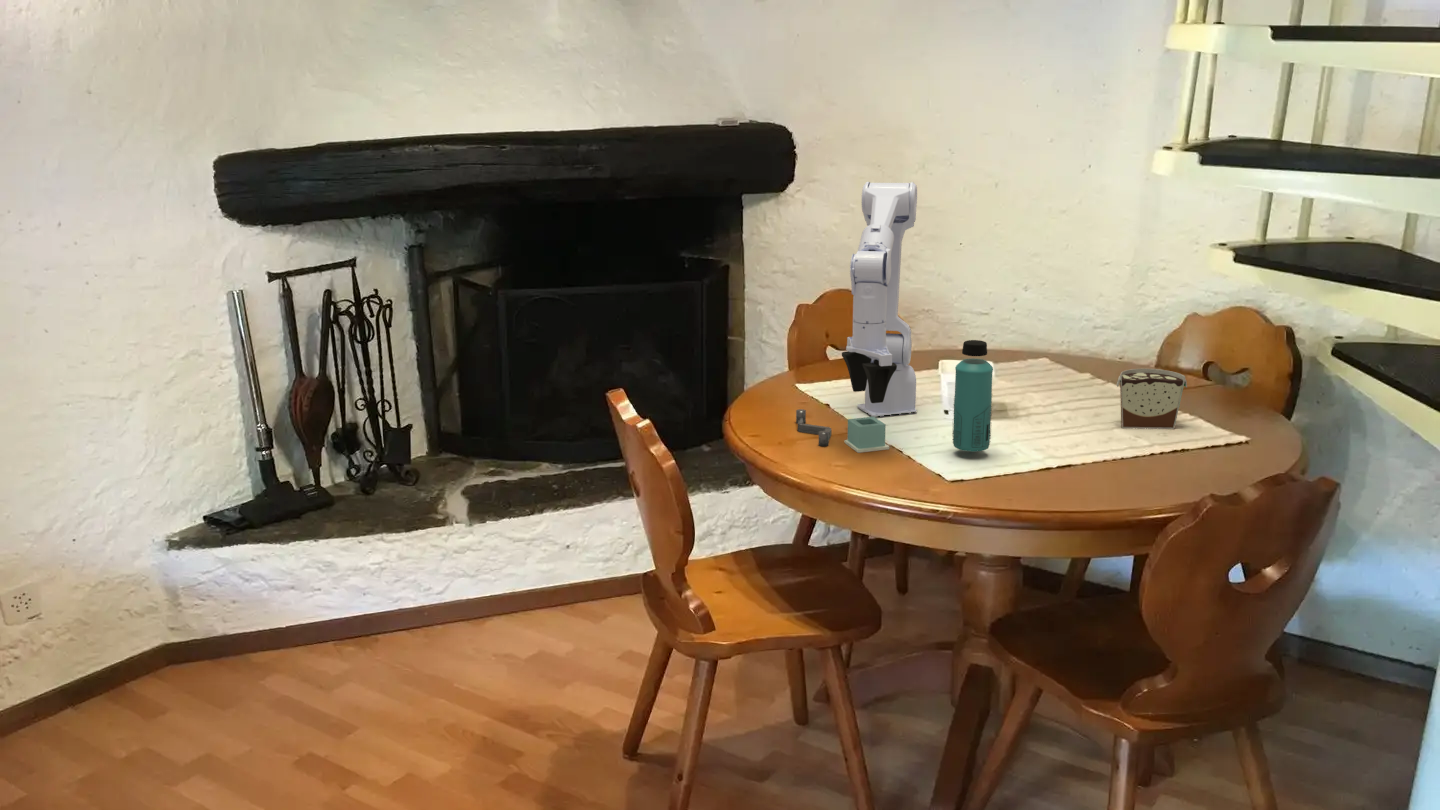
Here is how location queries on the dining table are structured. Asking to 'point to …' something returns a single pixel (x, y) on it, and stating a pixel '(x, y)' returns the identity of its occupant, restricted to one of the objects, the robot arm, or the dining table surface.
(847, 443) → the coaster
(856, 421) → the hollow square tube
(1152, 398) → the food container
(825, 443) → the grey zigzag bar
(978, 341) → the beverage bottle
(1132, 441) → the dining table surface
